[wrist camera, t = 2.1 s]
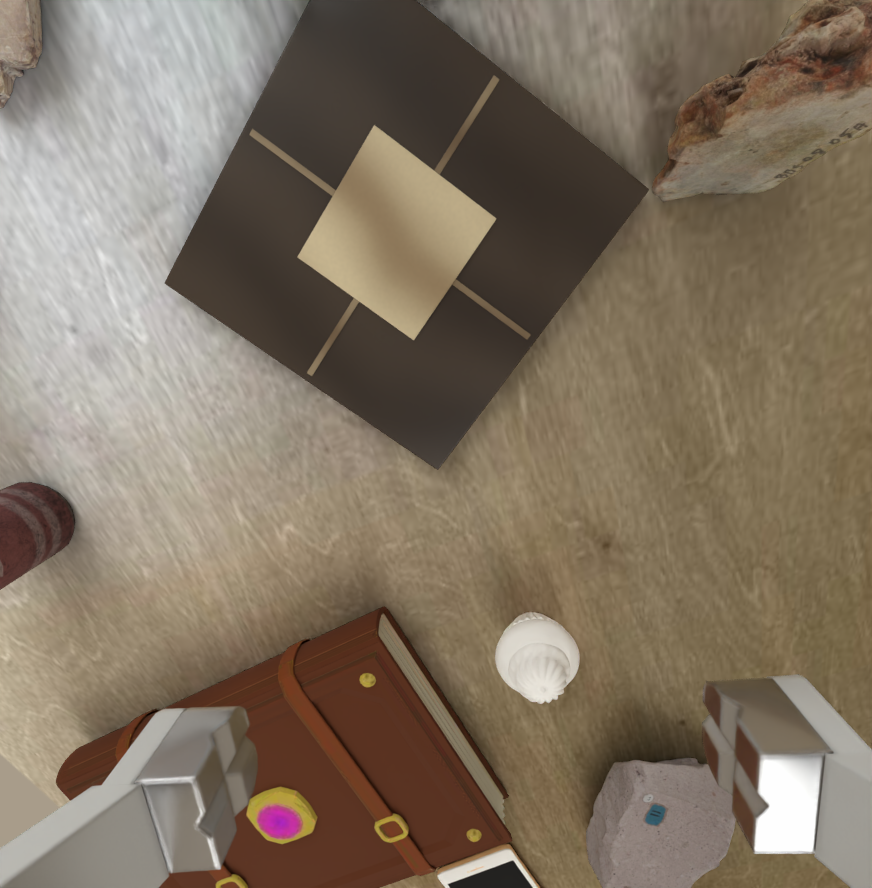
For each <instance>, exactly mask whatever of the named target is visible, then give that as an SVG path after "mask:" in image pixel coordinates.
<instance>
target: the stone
mask: <svg viewBox="0 0 872 888" xmlns="http://www.w3.org/2000/svg"><path fill="white" fill-rule="evenodd" d="M41 52H42V27H41V7H40V0H0V108H3V107H4V106H5V103H6V102H7V100H8V98H10V94H11V93H12V90H13V83H14V80H15V78H16V76H17V77H22V76H23V74H24V73H23V72H22V70H26V69H29V68H36V65H37V62H38V59H39V56H40V55H41Z"/></svg>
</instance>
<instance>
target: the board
mask: <svg viewBox="0 0 872 888" xmlns="http://www.w3.org/2000/svg"><path fill="white" fill-rule="evenodd" d="M648 191H649V189H648V188H647V187H646V186H644V185H643V184H642V183H641V182H639V181H638V180H637V179H636V178H634V177H633V176H632V175H631V174H629V173H628V172H627V171H626V170H625V169H623V168H622V167H621V166H620V165H618V164H617V163H616V162H615V161H613V160H612V159H611V158H610V157H608V156H607V155H606V154H605V153H604V152H602V151H601V150H600V149H599V148H597V147H596V146H595V145H594V144H592V143H591V142H590V141H589V140H587V139H586V138H585V137H584V136H583V135H581V134H580V133H579V132H578V131H576V130H575V129H574V128H573V127H571V126H570V125H569V124H568V123H566V122H565V121H564V120H563V119H562V118H560V117H559V116H558V115H557V114H555V113H554V112H553V111H552V110H550V109H549V108H548V107H547V106H545V105H544V104H543V103H542V102H541V101H539V100H538V99H537V98H536V97H534V96H533V95H532V94H531V93H529V92H528V91H527V90H526V89H524V88H523V87H522V86H521V85H520V84H518V83H517V82H516V81H515V80H513V79H512V78H511V77H510V76H508V75H507V74H506V73H505V72H504V71H502V70H501V69H500V68H499V67H497V66H496V65H495V64H494V63H492V62H491V61H490V60H489V59H487V58H486V57H485V56H484V55H483V54H481V53H480V52H479V51H478V50H476V49H475V48H474V47H473V46H471V45H470V44H469V43H468V42H466V41H465V40H464V39H463V38H462V37H460V36H459V35H458V34H457V33H455V32H454V31H453V30H452V29H450V28H449V27H448V26H447V25H445V24H444V23H443V22H442V21H441V20H439V19H438V18H437V17H436V16H434V15H433V14H432V13H431V12H429V11H428V10H427V9H426V8H424V7H423V6H422V5H421V4H420V3H418V2H417V1H416V0H310V1H309V3H308V5H307V7H306V9H305V11H304V12H303V14H302V16H301V18H300V20H299V22H298V24H297V26H296V28H295V30H294V32H293V34H292V36H291V38H290V40H289V42H288V44H287V46H286V48H285V49H284V51H283V53H282V55H281V57H280V59H279V61H278V63H277V65H276V67H275V69H274V71H273V73H272V75H271V77H270V79H269V81H268V83H267V85H266V86H265V88H264V90H263V92H262V94H261V96H260V98H259V100H258V102H257V104H256V106H255V108H254V110H253V112H252V114H251V116H250V118H249V120H248V122H247V123H246V125H245V127H244V129H243V131H242V133H241V135H240V137H239V139H238V141H237V143H236V145H235V147H234V149H233V151H232V153H231V155H230V157H229V159H228V160H227V162H226V164H225V166H224V168H223V170H222V172H221V174H220V176H219V178H218V180H217V182H216V184H215V186H214V188H213V190H212V192H211V194H210V196H209V197H208V199H207V201H206V203H205V205H204V207H203V209H202V211H201V213H200V215H199V217H198V219H197V221H196V223H195V225H194V227H193V229H192V231H191V233H190V234H189V236H188V238H187V240H186V242H185V244H184V246H183V248H182V250H181V252H180V254H179V256H178V258H177V260H176V262H175V264H174V266H173V268H172V270H171V271H170V273H169V275H168V277H167V279H166V281H165V284H166V285H168V286H169V287H171V288H172V289H173V290H175V291H176V292H178V293H179V294H181V295H182V296H184V297H185V298H187V299H188V300H190V301H191V302H193V303H194V304H195V305H197V306H198V307H200V308H201V309H203V310H204V311H206V312H207V313H209V314H210V315H212V316H213V317H214V318H216V319H217V320H219V321H220V322H222V323H223V324H225V325H226V326H228V327H229V328H231V329H232V330H234V331H235V332H236V333H238V334H239V335H241V336H242V337H244V338H245V339H247V340H248V341H250V342H251V343H253V344H254V345H255V346H257V347H258V348H260V349H261V350H263V351H264V352H266V353H267V354H269V355H270V356H272V357H273V358H275V359H276V360H277V361H279V362H280V363H282V364H283V365H285V366H286V367H288V368H289V369H291V370H292V371H294V372H295V373H297V374H298V375H299V376H301V377H302V378H304V379H305V380H307V381H308V382H310V383H311V384H313V385H314V386H316V387H317V388H318V389H320V390H321V391H323V392H324V393H326V394H327V395H329V396H330V397H332V398H333V399H335V400H336V401H338V402H339V403H340V404H342V405H343V406H345V407H346V408H348V409H349V410H351V411H352V412H354V413H355V414H357V415H358V416H359V417H361V418H362V419H364V420H365V421H367V422H368V423H370V424H371V425H373V426H374V427H376V428H377V429H379V430H380V431H381V432H383V433H384V434H386V435H387V436H389V437H390V438H392V439H393V440H395V441H396V442H398V443H399V444H400V445H402V446H403V447H405V448H406V449H408V450H409V451H411V452H412V453H414V454H415V455H417V456H418V457H420V458H421V459H422V460H424V461H425V462H427V463H428V464H430V465H431V466H433V467H434V468H436V469H437V470H438V469H439V468H440V467H441V465H442V464H443V463H444V461H445V460H446V459H447V457H448V456H449V455H450V453H451V452H452V451H453V449H454V448H455V447H456V445H457V444H458V443H459V441H460V440H461V439H462V437H463V436H464V435H465V433H466V432H467V431H468V429H469V428H470V427H471V425H472V424H473V423H474V422H475V420H476V419H477V418H478V416H479V415H480V414H481V412H482V411H483V410H484V408H485V407H486V406H487V404H488V403H489V402H490V400H491V399H492V398H493V396H494V395H495V394H496V392H497V391H498V390H499V388H500V387H501V386H502V384H503V383H504V382H505V380H506V379H507V378H508V376H509V375H510V374H511V372H512V371H513V370H514V368H515V367H516V366H517V364H518V363H519V362H520V360H521V359H522V358H523V357H524V355H525V354H526V353H527V351H528V350H529V349H530V347H531V346H532V345H533V343H534V342H535V341H536V339H537V338H538V337H539V335H540V334H541V333H542V331H543V330H544V329H545V327H546V326H547V325H548V323H549V322H550V321H551V319H552V318H553V317H554V315H555V314H556V313H557V311H558V310H559V309H560V307H561V306H562V305H563V303H564V302H565V301H566V299H567V298H568V297H569V295H570V294H571V293H572V291H573V290H574V289H575V288H576V286H577V285H578V284H579V282H580V281H581V280H582V278H583V277H584V276H585V274H586V273H587V272H588V270H589V269H590V268H591V266H592V265H593V264H594V262H595V261H596V260H597V258H598V257H599V256H600V254H601V253H602V252H603V250H604V249H605V248H606V246H607V245H608V244H609V242H610V241H611V240H612V238H613V237H614V236H615V234H616V233H617V232H618V230H619V229H620V228H621V226H622V225H623V224H624V222H625V221H626V220H627V219H628V217H629V216H630V215H631V213H632V212H633V211H634V209H635V208H636V207H637V205H638V204H639V203H640V201H641V200H642V199H643V197H644V196H645V195H646V193H647V192H648Z"/></svg>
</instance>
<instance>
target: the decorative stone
mask: <svg viewBox="0 0 872 888" xmlns="http://www.w3.org/2000/svg"><path fill="white" fill-rule="evenodd" d="M732 797H733V796H731V795H730V794H729V793H727V792H726V791H725V790H723V789H722V788H721V787H719V786H718V784H717V782H716V780H715V778H714V776H713V774H712V772H711V770H710V767H709V765H708V764H699V763H698V762H697V759H696V758H683V759H674V760H670V761H668V760H665V761H660V762H656V763H651V762H647V761H641V760H633V761H628V762H622V763H621V762H615V763H614V764H613V766H612V768H611V769H610V771H609V773H608V775H607V777H606V779H605V782H604V785H603V788H602V790H601V791H600V792H599V794H598V796H597V798H596V800H595V803H594V807H593V811H594V814H593V817H592V818H591V819H590V823H589V826H588V828H587V831H586V842H587V853H588V860H589V863H590V865H591V867H592V869H593V871H594V873H595V874H596V875H597V878H598V880H599V881H600V884H601V886H602V888H691V887H692V885H693V883H694V882H695V881H696V880H697V879H698V878H700V877H701V876H702V875H703V874H705V873H707V872H708V871H710V870H712V869H714V868H716V867H718V866H719V864H720V863H719V861H720V860H721V859H723V858H724V857H725V856H726V854H727V851H728V848H729V844H730V841H731V838H732V835H733V831H734V828H735V817H734V815H733V813H732Z"/></svg>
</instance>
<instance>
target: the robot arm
mask: <svg viewBox="0 0 872 888" xmlns="http://www.w3.org/2000/svg"><path fill="white" fill-rule="evenodd" d="M703 702H704V704H705V706H706V707H707V709H708V711H709V713H710V714H709V715H708V716H707V718H706V719H705V720H704V721H703V722H702V741H703V746H704V751H705V756H706V759H707V762H708V765H709V767H710V770H711V772H712V774H713V776H714V778H715V780H716V782H717V784H718V786H719V787H721V788H722V789H723V790H725V791H726V792H727V793H729V794H730V795H731V796H733V797H732V813H733V815H734V817H735V818H736V820H737V822H738V824H739V826H740V828H741V830H742V831H743V833H744V835H745V837H746V839H747V841H748V843H749V845H750V846H751V848H752V850H753V852H754V854H815V858H817V859H818V860H819V861H820V862H821V863H822V864H824V865H825V866H826V867H827V868H828V869H829V870H831V871H832V872H833V873H834V874H835V875H836V876H838V877H839V878H840V879H841V880H842V881H843V882H845V883H846V884H847V885H848V886H849V887H850V888H872V749H871V748H870V747H869V746H868V745H867V744H866V743H865V742H864V741H863V740H862V739H861V737H860V736H859V735H858V734H857V733H856V732H855V731H854V730H853V729H852V728H851V727H850V726H849V724H848V723H847V722H846V721H845V720H844V719H843V718H842V717H841V716H840V715H839V714H838V713H837V711H836V710H835V709H834V708H833V707H832V706H831V705H830V704H829V703H828V702H827V701H826V700H825V698H824V697H823V696H822V695H821V694H820V693H819V692H818V691H817V690H816V689H815V688H814V686H813V685H812V684H811V683H810V682H809V681H808V680H807V679H806V678H804V677H802V676H800V675H799V674H798V675H785V676H771V677H767V678H751V679H734V680H718V681H706V683H705V685H704V688H703ZM249 725H250V722H249V718H248V715H247V711H246V709H245V708H243V707H241V706H228V707H193V708H176V709H163V710H161V711H159V712H157V713H155V715H154V716H153V717H152V718H151V720H150V721H149V722H148V724H147V725H146V726H145V728H144V729H143V730H142V732H141V733H140V734H139V736H138V737H137V738H136V740H135V741H134V742H133V744H132V745H131V746H130V748H129V749H128V750H127V752H126V753H125V754H124V756H123V757H122V758H121V760H120V761H119V762H118V764H117V765H116V766H115V768H114V769H113V770H112V772H111V773H110V774H109V776H108V777H107V778H106V780H105V781H104V782H103V784H102V785H99V786H92V787H90V788H89V789H87V790H86V791H84V792H83V793H81V794H80V795H78V796H77V797H75V798H74V799H72V800H71V801H69V802H68V803H66V804H65V805H64V806H62V807H61V808H59V809H58V810H56V811H55V812H53V813H52V814H50V815H49V816H47V817H46V818H45V819H43V820H41V821H40V822H38V823H37V824H35V825H34V826H32V827H31V828H29V829H28V830H26V831H25V832H24V833H22V834H21V835H19V836H18V837H16V838H15V839H13V840H12V841H10V842H9V843H7V844H6V845H4V846H3V847H1V848H0V888H159V887H160V886H161V884H162V883H163V882H164V881H165V880H166V879H167V878H168V877H169V873H176V872H191V871H207V870H220V869H221V866H222V864H223V862H224V860H225V857H226V855H227V853H228V850H229V848H230V846H231V843H232V841H233V839H234V836H235V834H236V832H237V826H236V822H235V818H234V817H235V816H236V815H237V814H238V813H239V812H240V811H241V810H243V809H244V808H245V807H246V806H247V805H248V803H249V801H250V798H251V796H252V793H253V791H254V788H255V783H256V777H257V772H258V757H257V751H256V747H255V744H254V743H253V742H252V741H251V740H250V739H249V738H247V737H246V736H245V734H246V732H247V730H248V727H249Z"/></svg>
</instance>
